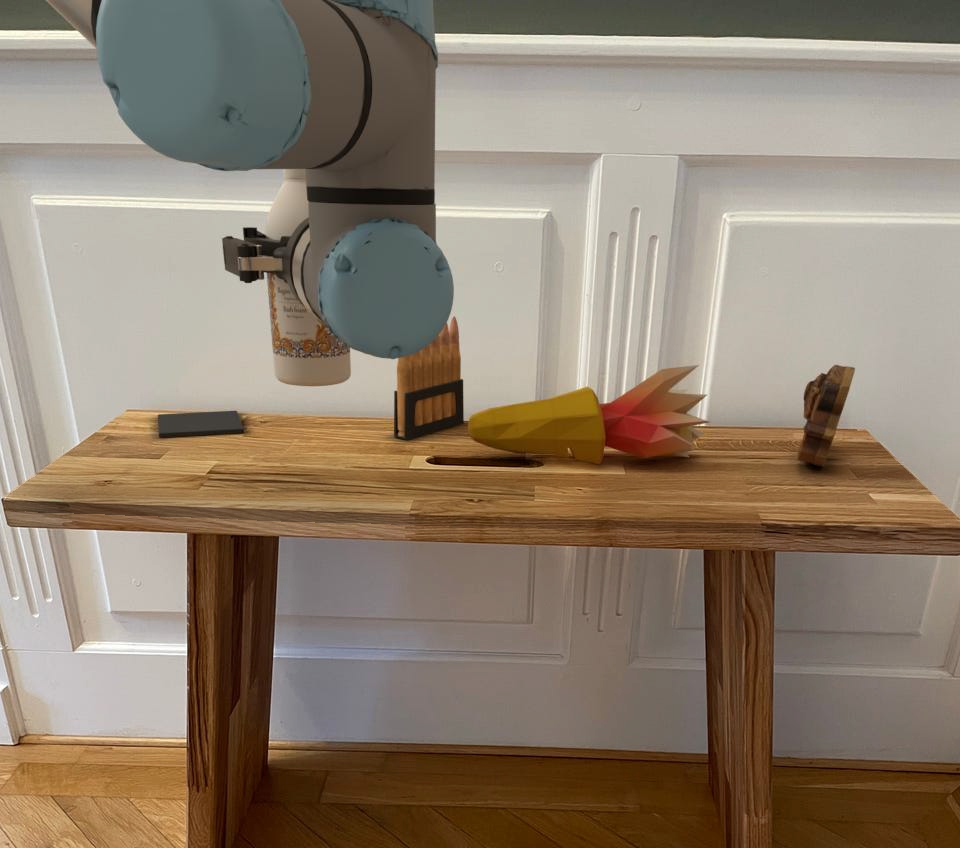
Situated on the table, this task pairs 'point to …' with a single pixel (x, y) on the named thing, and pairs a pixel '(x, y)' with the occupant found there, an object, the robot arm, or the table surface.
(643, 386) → the torch
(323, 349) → the bath foam
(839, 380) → the wooden carving
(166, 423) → the mat
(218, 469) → the table surface
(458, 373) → the ammunition clip
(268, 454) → the table surface
